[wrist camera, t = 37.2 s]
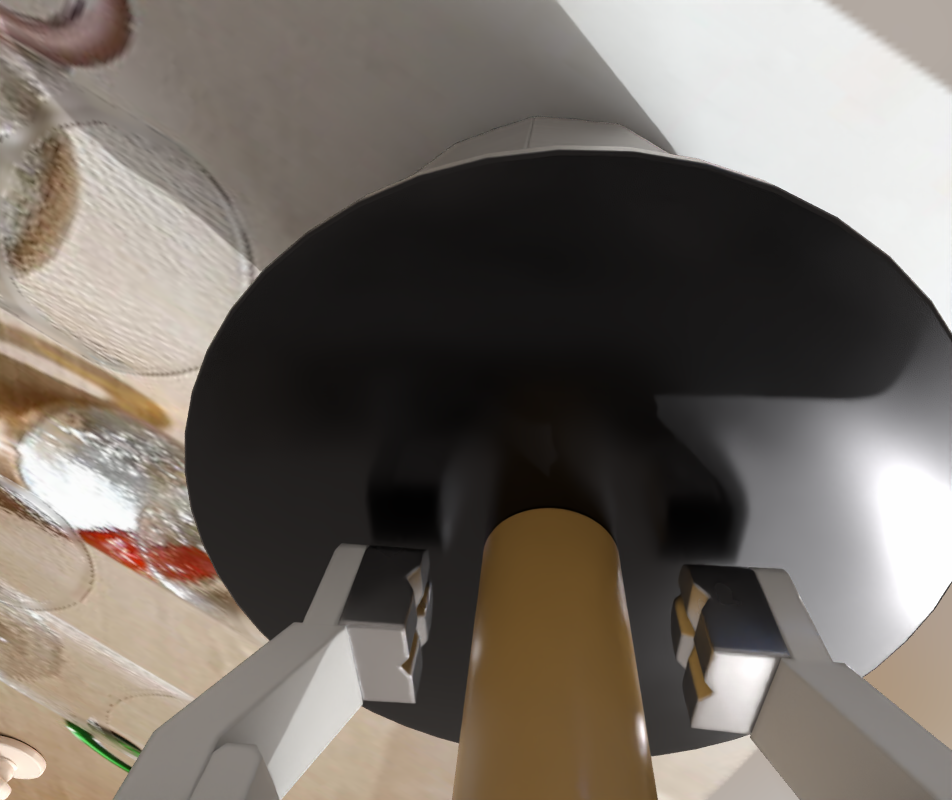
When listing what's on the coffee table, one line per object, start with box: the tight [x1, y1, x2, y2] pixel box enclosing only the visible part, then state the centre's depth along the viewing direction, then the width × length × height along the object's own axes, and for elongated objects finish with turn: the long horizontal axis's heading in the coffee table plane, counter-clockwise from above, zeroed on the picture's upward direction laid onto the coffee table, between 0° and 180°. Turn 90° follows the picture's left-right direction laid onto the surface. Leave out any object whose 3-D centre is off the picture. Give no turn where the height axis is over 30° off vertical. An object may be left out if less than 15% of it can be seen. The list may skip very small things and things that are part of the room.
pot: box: [415, 116, 669, 174], centre depth 15 cm, size 13×13×11 cm
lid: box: [185, 145, 952, 800], centre depth 8 cm, size 13×13×6 cm
